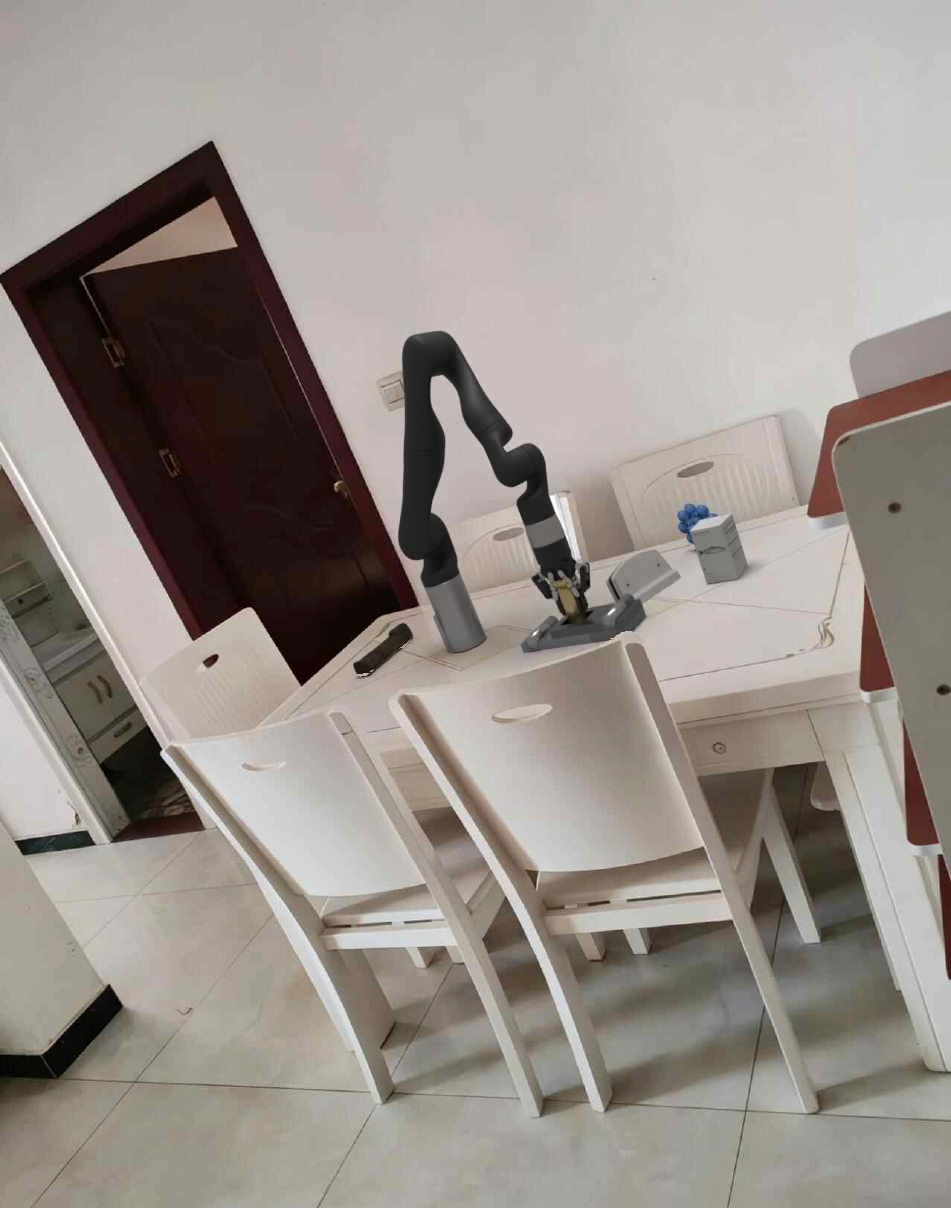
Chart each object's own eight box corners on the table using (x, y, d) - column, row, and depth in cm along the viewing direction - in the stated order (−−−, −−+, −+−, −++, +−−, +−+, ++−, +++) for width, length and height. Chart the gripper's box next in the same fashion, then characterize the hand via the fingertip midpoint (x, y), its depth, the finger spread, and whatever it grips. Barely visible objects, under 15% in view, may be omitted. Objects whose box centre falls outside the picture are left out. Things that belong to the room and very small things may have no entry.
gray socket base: (522, 653, 206) (513, 631, 205) (545, 631, 215) (536, 609, 213) (626, 638, 191) (618, 613, 189) (647, 614, 199) (638, 591, 198)
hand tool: (370, 677, 234) (362, 657, 232) (357, 679, 237) (348, 659, 235) (423, 636, 251) (415, 618, 249) (409, 638, 254) (401, 620, 252)
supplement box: (706, 585, 202) (687, 531, 199) (718, 571, 208) (700, 518, 205) (738, 580, 198) (720, 524, 194) (749, 566, 203) (732, 511, 200)
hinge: (633, 609, 206) (608, 570, 206) (622, 615, 210) (597, 577, 210) (682, 576, 214) (658, 539, 214) (670, 583, 218) (646, 546, 218)
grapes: (678, 559, 227) (662, 513, 224) (692, 548, 231) (676, 502, 228) (721, 553, 219) (705, 505, 216) (734, 542, 223) (718, 495, 220)
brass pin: (565, 634, 202) (546, 584, 199) (576, 624, 206) (557, 574, 203) (586, 631, 199) (567, 580, 196) (596, 621, 203) (577, 570, 200)
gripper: (511, 552, 199) (540, 624, 203) (568, 538, 190) (597, 615, 194) (528, 538, 204) (555, 610, 209) (583, 525, 196) (611, 600, 200)
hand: (575, 612), depth 201 cm, fingers closed on brass pin, 4 cm apart
